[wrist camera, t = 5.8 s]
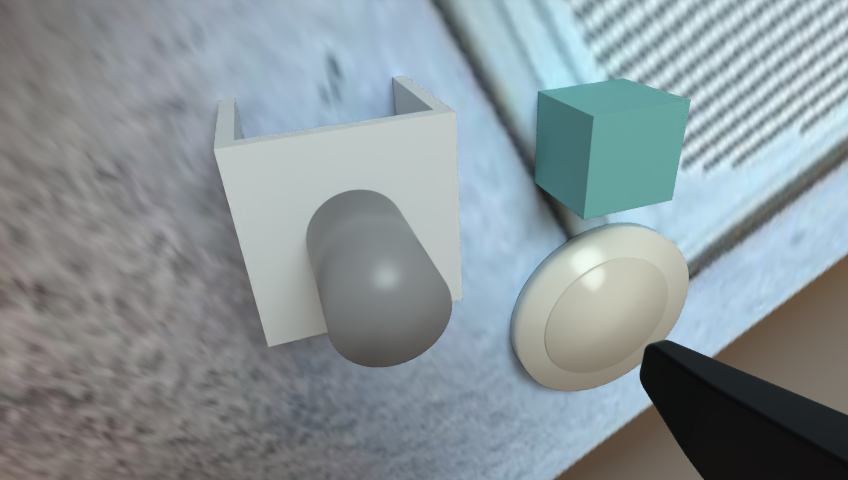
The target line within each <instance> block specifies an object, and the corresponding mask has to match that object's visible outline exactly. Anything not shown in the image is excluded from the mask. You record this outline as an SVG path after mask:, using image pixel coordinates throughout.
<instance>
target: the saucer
mask: <svg viewBox="0 0 848 480" xmlns="http://www.w3.org/2000/svg"><path fill="white" fill-rule="evenodd" d="M688 282H689V275H688V267H687V264H686V261H685V258H684V256H683V255H682V253H681V251H680V250H679V249H678V247H677V246H676V245H675V244H674V243H672V242H671V241H670V240H669V239H667V238H666V237H664V236H663V235H661V234H660V233H658V232H656V231H655V230H653V229H651V228H649V227H647V226H644V225H641V224H636V223H612V224H606V225H602V226H599V227H596V228H593V229H590V230H588V231H585V232H583V233H581V234H579V235H577V236H575V237H574V238H572V239H570V240H569V241H567V242H566V243H564V244H563V245H561V246H560V247H558V248H557V249H556V250H555V251H554V252H552V253H551V254H550V255H549V256H548V257H547V258H546V259H545V260H544V261H543V262H542V263H541V264H540V265H539V266H538V267H537V269H536V270H535V271H534V272H533V274H532V275H531V276H530V278H529V279H528V281H527V282H526V284H525V285H524V287H523V289H522V291H521V293H520V295H519V297H518V299H517V302H516V304H515V307H514V311H513V315H512V319H511V341H512V345H513V348H514V351H515V353H516V355H517V357H518V358H519V360H520V361H521V363H522V364H523V366H524V367H525V369H526V370H527V371H528V373H529V374H530V375H531V376H532V377H533V378H534V379H535V380H536V381H537V382H539V383H540V384H542V385H544V386H546V387H548V388H551V389H555V390H560V391H581V390H587V389H591V388H595V387H599V386H601V385H604V384H607V383H609V382H611V381H614V380H616V379H618V378H619V377H621V376H623V375H625V374H627V373H628V372H630V371H631V370H633V369H634V368H635V367H637V366H638V365H639V364H641V363H642V359H643V354H644V349H645V347H646V346H647V345H648V344H650V343H653V342H657V341H660V340H665V338H666V337H667V336H668V335H669V333H670V331H671V330H672V328H673V327H674V325H675V324H676V322H677V320H678V318H679V316H680V314H681V311H682V309H683V307H684V304H685V300H686V297H687V291H688Z"/></svg>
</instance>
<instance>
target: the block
mask: <svg viewBox="0 0 848 480" xmlns="http://www.w3.org/2000/svg"><path fill="white" fill-rule="evenodd" d="M690 101H691V100H689V99H686V98H683V97H680V96H677V95H674V94H670V93H667V92H664V91H661V90H658V89H655V88H652V87H649V86H645V85H642V84H639V83H636V82H633V81H630V80H627V79H617V80H610V81H604V82H597V83H591V84H584V85H577V86H571V87H564V88H558V89H551V90H545V91H538V112H537V135H536V158H535V180H534V182H535V183H536V184H538V185H539V186H540V187H542V188H543V189H544V190H545V191H547V192H548V193H549V194H551V195H552V196H553V197H555V198H556V199H557V200H559V201H560V202H561V203H563V204H564V205H565V206H567V207H568V208H569V209H570V210H572V211H573V212H574V213H576V214H577V215H578V216H580V217H581V218H582V219H588V218H593V217H597V216H602V215H606V214H611V213H615V212H620V211H625V210H629V209H634V208H638V207H643V206H647V205H652V204H656V203H661V202H665V201H670V200H672V197H673V191H674V186H675V181H676V175H677V170H678V165H679V159H680V154H681V149H682V144H683V138H684V133H685V128H686V122H687V117H688V112H689V106H690Z"/></svg>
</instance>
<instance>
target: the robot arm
mask: <svg viewBox="0 0 848 480" xmlns="http://www.w3.org/2000/svg"><path fill="white" fill-rule="evenodd" d="M640 381H641V384H642V386H643V388H644V390H645V391H646V393H647V394H648V396H649V398H650V399H651V401H652V402H653V404H654V406H655V407H656V409H657V410H658V412H659V414H660V415H661V417H662V418H663V420H664V422H665V423H666V425H667V426H668V428H669V430H670V431H671V433H672V435H673V436H674V438H675V440H676V441H677V443H678V444H679V446H680V447H681V449H682V450H683V452H684V453H685V455H686V456H687V458H688V459H689V460H690V462H691V463H692V464H693V466H694V467H695V468H696V470H697V471H698V472H699V474H700V475H701V476H702V478H703V479H704V480H848V415H846V414H844V413H842V412H839V411H837V410H834V409H832V408H829V407H827V406H825V405H823V404H820V403H818V402H815V401H813V400H811V399H808V398H805V397H803V396H801V395H799V394H796V393H794V392H791V391H789V390H787V389H784V388H782V387H779V386H777V385H775V384H772V383H770V382H768V381H765V380H763V379H760V378H758V377H756V376H753V375H751V374H748V373H746V372H744V371H741V370H739V369H736V368H734V367H732V366H729V365H727V364H724V363H722V362H720V361H717V360H715V359H713V358H710V357H708V356H705V355H703V354H701V353H698V352H696V351H693V350H691V349H689V348H686V347H684V346H682V345H679V344H677V343H674V342H672V341H669V340H660V341H657V342H653V343H650V344H648V345H647V346H646V347H645V349H644V354H643V359H642V364H641V369H640Z"/></svg>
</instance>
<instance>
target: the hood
mask: <svg viewBox="0 0 848 480" xmlns="http://www.w3.org/2000/svg"><path fill="white" fill-rule="evenodd" d="M392 78H393V89H394V100H395V111H396V116H390V117H383V118H377V119H370V120H364V121H357V122H351V123H344V124H338V125H331V126H325V127H318V128H311V129H305V130H298V131H292V132H285V133H279V134H272V135H266V136H259V137H253V138H246V139H244V136H243V132H242V128H241V124H240V120H239V116H238V111H237V107H236V103H235V99H228V100H220V101H219V106H218V115H217V124H216V132H215V141H214V153H215V156H216V160H217V164H218V167H219V171H220V174H221V178H222V182H223V185H224V189H225V192H226V196H227V200H228V203H229V207H230V211H231V214H232V218H233V221H234V225H235V229H236V232H237V236H238V239H239V243H240V247H241V250H242V254H243V257H244V261H245V265H246V268H247V272H248V275H249V279H250V283H251V286H252V290H253V294H254V297H255V301H256V304H257V308H258V312H259V315H260V319H261V322H262V326H263V330H264V333H265V337H266V340H267V344H268V347H271V346H275V345H279V344H283V343H287V342H291V341H295V340H299V339H303V338H307V337H311V336H315V335H320V334H324V333H328V334H329V338H330V340H331V342H332V344H333V346H334V347H335V349H336V350H337V351H338V352H339V353H340V354H341V355H342V356H343V357H345V358H346V359H348V360H349V361H351V362H353V363H356V364H359V365H362V366H367V367H389V366H394V365H398V364H401V363H404V362H407V361H409V360H412V359H414V358H415V357H417V356H419V355H421V354H422V353H423V352H425V351H426V350H427V349H429V348H430V347H431V346H432V345H433V344H434V343H435V342H436V341H437V340H438V339H439V337H440V336H441V335H442V333H443V332H444V330H445V328H446V326H447V324H448V322H449V319H450V316H451V310H452V302H454V301H458V300H462V272H461V242H460V213H459V184H458V155H457V125H456V111H455V110H453V109H452V108H450V107H449V106H448V105H446V104H445V103H443V102H442V101H441V100H439V99H438V98H436V97H435V96H434V95H432V94H431V93H429V92H428V91H427V90H425V89H424V88H422V87H421V86H420V85H418V84H417V83H415V82H414V81H413V80H411V79H410V78H408V77H407V76H406V75H405V76H397V77H392Z"/></svg>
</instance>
